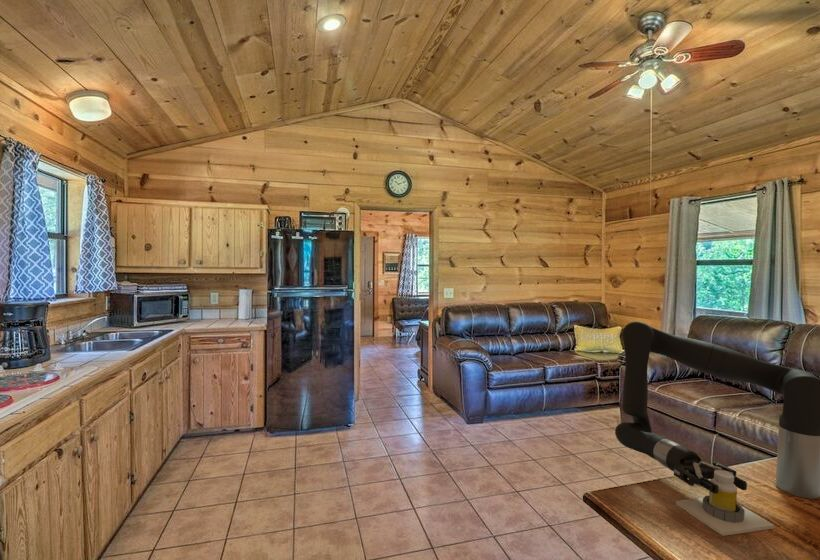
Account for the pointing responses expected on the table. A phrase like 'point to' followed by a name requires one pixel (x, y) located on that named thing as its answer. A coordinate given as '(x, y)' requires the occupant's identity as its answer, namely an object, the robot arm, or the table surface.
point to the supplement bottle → (724, 492)
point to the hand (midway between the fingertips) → (731, 488)
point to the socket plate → (723, 525)
